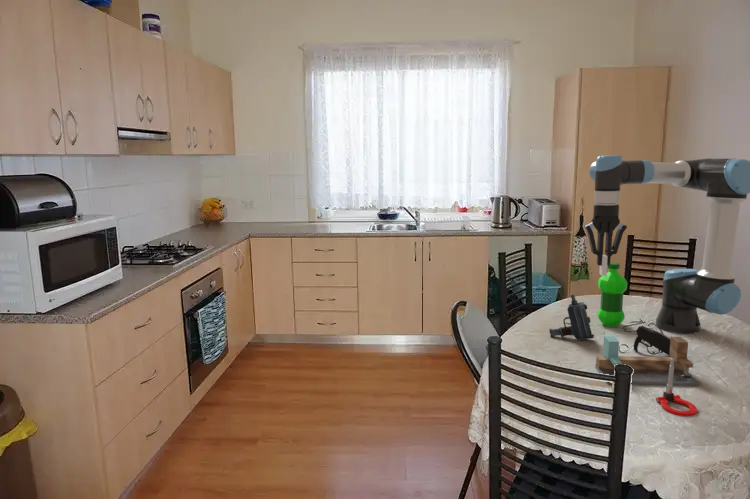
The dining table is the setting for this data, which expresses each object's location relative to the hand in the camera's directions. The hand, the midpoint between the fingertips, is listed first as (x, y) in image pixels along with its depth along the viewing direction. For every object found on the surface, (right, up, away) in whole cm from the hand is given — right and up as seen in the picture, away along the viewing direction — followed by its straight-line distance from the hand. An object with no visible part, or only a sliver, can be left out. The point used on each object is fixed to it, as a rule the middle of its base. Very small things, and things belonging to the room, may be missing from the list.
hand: (602, 274), depth 174 cm
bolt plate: (+8, -31, -11) cm, 34 cm away
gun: (-2, -25, +22) cm, 34 cm away
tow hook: (+7, -35, -31) cm, 47 cm away
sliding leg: (-1, -29, -9) cm, 31 cm away
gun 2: (+21, -28, +5) cm, 35 cm away
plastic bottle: (+19, -22, +36) cm, 46 cm away
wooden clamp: (+8, -29, -10) cm, 32 cm away
